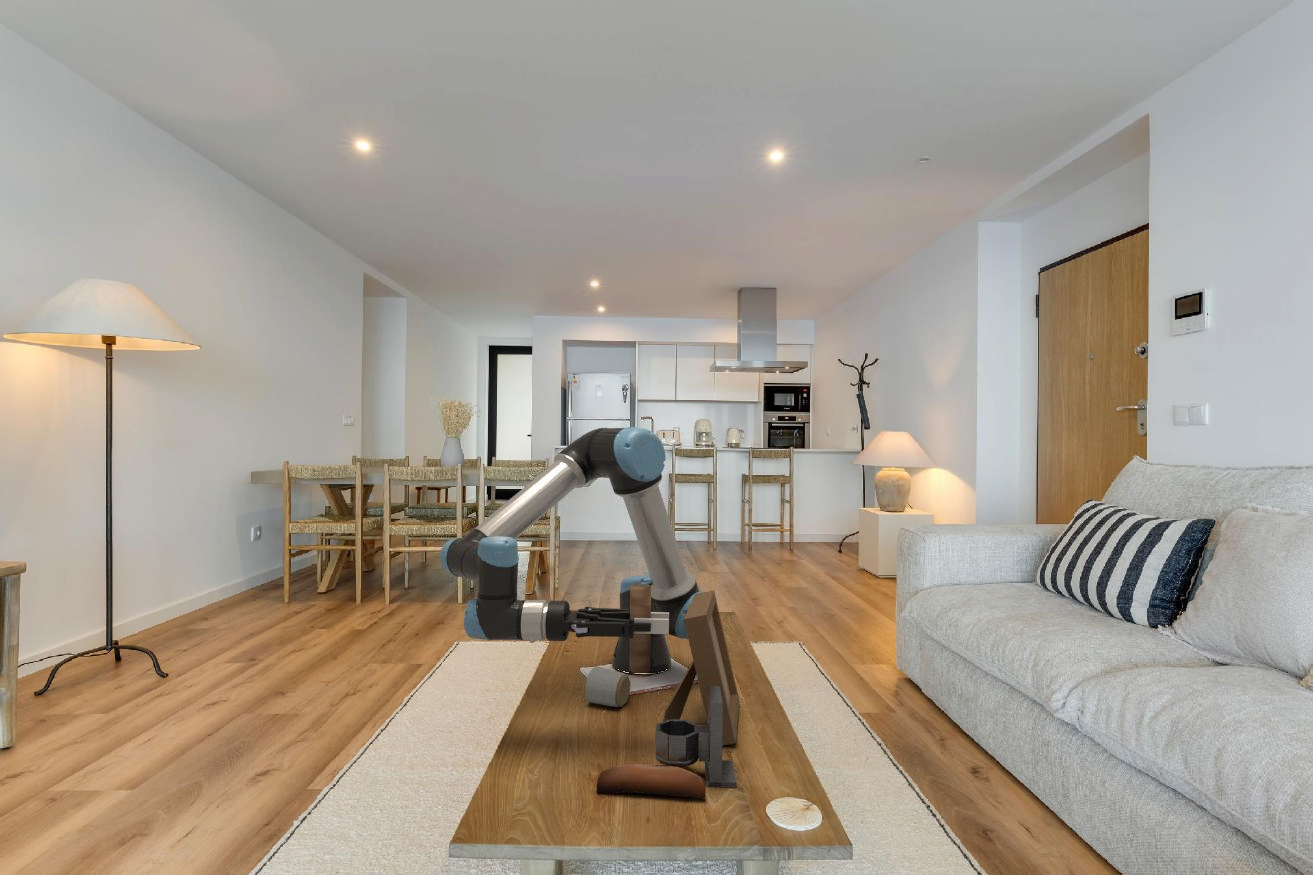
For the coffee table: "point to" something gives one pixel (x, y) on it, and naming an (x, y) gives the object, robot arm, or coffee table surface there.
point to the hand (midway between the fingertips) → (668, 623)
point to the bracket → (697, 743)
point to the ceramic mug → (607, 687)
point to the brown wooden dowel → (640, 642)
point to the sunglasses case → (651, 780)
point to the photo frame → (707, 664)
